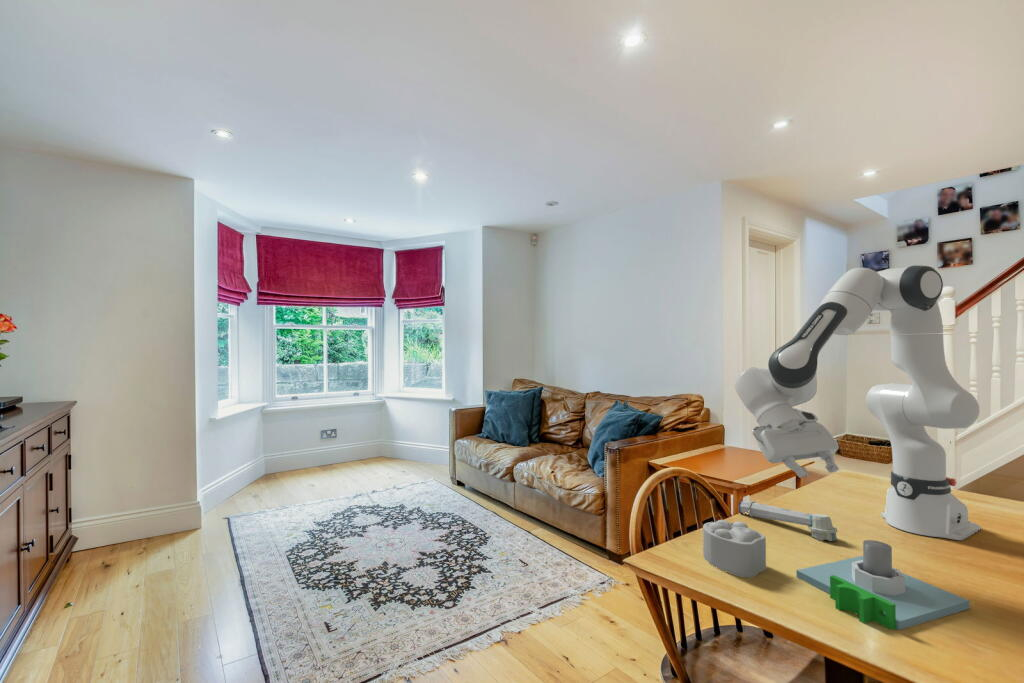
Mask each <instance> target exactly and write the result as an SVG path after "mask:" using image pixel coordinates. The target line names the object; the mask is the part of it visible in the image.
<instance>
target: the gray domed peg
mask: <svg viewBox="0 0 1024 683" xmlns="http://www.w3.org/2000/svg"><path fill="white" fill-rule="evenodd" d="M892 550H893V548H892V546H891V544H888V543H885V542H882V541H877V540H872V539H871V540H870V539H867V540H863V541H862V557H863V571H865V572H867V573H869V574H872V575H875V576H881V577H887V578H892V567H893V551H892Z"/></svg>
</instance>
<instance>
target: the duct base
mask: <svg viewBox="0 0 1024 683" xmlns="http://www.w3.org/2000/svg"><path fill="white" fill-rule="evenodd" d="M832 575H835V576H837V577H839V578H841V579H843V580H845V581H848V582H850V583H852V584H854V585H856V586H858V587H860V588H862V589H864V590H867V591H869V592H871V593H873V594H875V595H877V596H879V597H881V598H883V599H885V600H888V601H890V602H892V603H894V604H896V629H895V630H897V631H901V630H904V629H908V628H911V627H914V626H917V625H920V624H921V625H922V624H925V623H926V622H930V621H933V620H938V619H940V618H944V617H946V616H950V615H954V614H956V613H959V612H963V611H966V610H970V609H971V606H970V605H971V604H970V603H971V602H970V600H969V599H967V598H964V597H961V596H959V595H958V594H954V593H952V592H950V591H947V590H945V589H942V588H940V587H938V586H935V585H933V584H931V583H927V582H925V581H923V580H921V579H918V578H916V577H914V576H911V575H909V574H906V573H904V572H902V571H901V570H900V569H898V568H895V567H893V566H892V578H887V577H881V576H875V575H872V574H869V573H867V572H865V571H863V555H859V556H855V557H854V556H853V557H850V558H846V559H840V560H837V561H832V562H827V563H823V564H818V565H813V566H808V567H806V568H805V567H803V568H800V569H796V578H798V579H799V580H801V581H803V582H806V583H807V584H809V585H811V586H813V587H815V588H816V589H819V590H820V591H823V592H825V593H827V594H829V595H830V576H832ZM883 612H884V611H883ZM884 614H885V612H884ZM885 615H886V614H885Z"/></svg>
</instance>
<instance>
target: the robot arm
mask: <svg viewBox="0 0 1024 683" xmlns="http://www.w3.org/2000/svg"><path fill="white" fill-rule="evenodd" d="M943 288H944V283H943V279H942V276H941V274H940V273H939V272H938V271H937V270H936V269H935V268H933V267H932V266H929V265H910V266H902V267H901V266H900V267H893V268H886V269H883V270H879V271H878V270H877V271H876V270H874V269H871V268H867V267H854V268H850V269H849V270H847V271H846V272H845V273H844V274H843V275H841V277H839V279H838V280H837V281H836V282H835V283H834V284H833V285H832V286H831V287H830V288H829V290H828V292H827V293H826V294H825V296H824V297H823V298H822V300H821V302H819V305H818V307H817V308H816V309H815V311H814V312H813V313H812V315H811V316H810V317H808V319H807V320H806V322H804V324H803V325H802V327H801V328H800V329H799V330H798V332H797V333H796V334H795V336H794V337H792V338H791V339H790V340H789V341H788V342H786V343H785V344H783V345H782V346H780V347H779V348H776V350H774V351H773V353H771V355H770V356H769V359H768V364H767V365H768V366H767V367H768V368H759V367H749V368H746V369H745V370H743V371H742V372H741V373H740V374H739V375H738V377H737V378H736V381H735V383H734V389H735V391H736V393H737V395H738V397H739V399H740V401H741V402H742V403H743V405H744V406H745V408H746V409H747V410H748V412H750V413H751V414H752V415H753V416H754V417H755V421H756V423H757V424H758V426H754V427H753V429H752V433H751V434H752V435H753V437H754V438H755V440H756V444H757V446H758V447H759V449H760V451H761V453H762V455H763V456H764V458H765V459H766V461H768V462H769V463H770V464H779V463H783V464H784V465H785V467H786V468H789V469H790V470H792V472H795V474H796V476H797V477H799V479H800V478H801V479H802V478H806V477H807V476H808V475H809V474H810V472H809V471H808V470H807V469H806V467H805V466H801V465H800V464H799V463H797V462H796V461H799V460H807V459H814V458H820V459H821V460H822V461H824V462H825V464H826V466H825V467H824V469H826V470H827V471H828V473H830V474H832V473H837V471H839V470H840V467H838V465H837V464H836V463H835V458H834V455H833V454H834V453H835V452H837V451H838V450H839V449H840V447H839V443H838V442H837V440H836V439H835V438H834V436H833V435H832V434H831V433H830V431H829V430H828V429H827V428H826V427H825V426H824V425H823V424H822V423H820V422H818V420H819V418H818V416H817V415H816V414H814V412H808V411H804V410H800V409H798V408H795V406H799V405H801V404H804V403H807V402H808V401H810V400H812V399H813V398H814V397H815V395H816V394H817V389H818V378H817V370H818V358H819V357H818V356H819V354H820V352H821V351H822V350H823V348H824V347H825V346H826V344H827V343H828V342H829V340H830V339H831V338H832V337H833V335H837V336H848V335H851V334H854V333H856V331H857V332H858V330H859V329H860V328H861V327H862V326H863V325H864V324H865V323H866V321H867V320H868V319H869V318H870V315H871V314H872V313H873V311H889V312H890V315H891V316H890V326H889V337H890V339H889V340H890V360H891V363H892V364H893V365H894V366H895V367H896V368H898V369H899V370H901V371H903V372H904V373H905V374H906V375H907V377H908V378H909V380H910V382H911V383H901V382H891V383H890V382H889V383H879V384H876V385H874V386H872V387H871V388H870V389H869V390H868V392H867V394H866V397H865V403H866V408H867V409H868V411H869V412H870V414H872V415H873V416H874V417H876V419H877V420H878V421H879V422H880V423H881V425H882V426H883V428H884V429H885V432H886V434H887V436H888V438H889V442H890V446H891V455H892V470H891V471H890V478H889V479H890V485H891V487H888V488H887V491H886V500H885V510H884V511H882V512H881V513H880V516H881V517H882V518H884V519H885V523H886V524H888V525H890V526H892V527H893V528H896V529H899V530H901V531H905V532H908V533H910V534H911V533H912V534H916V535H920V536H926V537H935V538H943V539H950V540H955V541H963V540H965V539H967V538H969V537H971V536H972V535H974V534H976V533H977V532H979V531H981V530H980V529H981V525H979V524H977V523H975V522H973V521H970V520H969V511H968V510H969V509H968V507H967V505H966V504H965V503H963V502H962V501H961V500H960V499H959V498H957V497H956V496H955V495H954V494H953V493H952V489H951V487H956V485H957V480H956V479H955V478H953V477H948V476H947V464H946V463H947V453H946V451H945V448H944V447H943V446H942V445H941V444H940V443H939V442H937V441H936V440H935V439H933V438H931V436H930V435H929V434H928V432H927V430H926V428H925V427H928V428H929V427H930V428H937V429H944V430H946V429H947V430H948V429H949V430H950V429H952V430H953V429H967V428H969V427H971V426H972V425H973V424H975V422H976V421H977V420H978V418H979V415H980V404H979V403H978V400H977V399H976V397H975V396H974V395H973V394H972V393H971V392H969V391H968V390H966V389H965V388H963V387H962V386H961V385H960V384H959V383H958V382H957V381H956V380H955V378H954V377H953V375H952V373H951V371H950V370H949V368H948V366H947V362H946V361H947V360H946V355H945V346H944V326H943V320H942V319H943V318H942V313H941V309H940V307H939V303H938V300H939V299H940V297H941V294H942V292H943ZM978 530H979V531H978ZM975 532H976V533H975Z"/></svg>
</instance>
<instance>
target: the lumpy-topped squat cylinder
mask: <svg viewBox="0 0 1024 683" xmlns="http://www.w3.org/2000/svg"><path fill="white" fill-rule="evenodd" d="M766 540H767V539H766V536H765V535H764V534H763V533H761V532H760V531H757V530H755V529H753V528H750V527H749V526H748V524H746V523H745V522H743V521H734V522H733V523H732V522H729V521H728V520H726V519H719V520H716V521H710V522H706V523H704V524H703V526H702V553H703V555H702V556H704V557H703V559H704V558H705V559H704V561H706V560H707V561H708V562H709V563H708V562H707V561H706V562H707V563H708V564H709V565H710V564H711V565H710V566H712V565H713V566H712V567H714V566H715V567H714V568H716V567H717V568H716V569H718V568H719V569H718V570H720V569H721V570H720V571H723V570H724V571H723V572H725V571H727V572H726V573H728V572H729V573H728V574H731V573H732V574H731V575H733V574H734V576H736V575H737V576H736V577H740V578H746V577H748V578H750V579H751V578H755V577H756V574H757V575H758V574H759V573H763V572H765V571H766V569H767V553H766V552H767V550H766V549H767V542H766Z"/></svg>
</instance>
